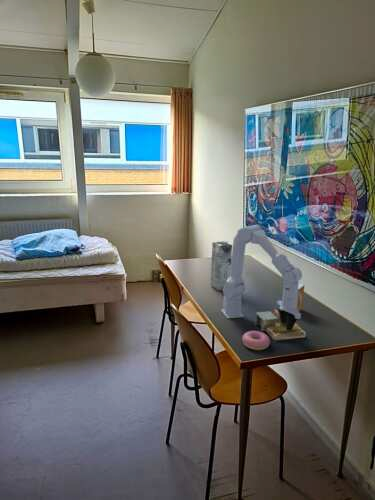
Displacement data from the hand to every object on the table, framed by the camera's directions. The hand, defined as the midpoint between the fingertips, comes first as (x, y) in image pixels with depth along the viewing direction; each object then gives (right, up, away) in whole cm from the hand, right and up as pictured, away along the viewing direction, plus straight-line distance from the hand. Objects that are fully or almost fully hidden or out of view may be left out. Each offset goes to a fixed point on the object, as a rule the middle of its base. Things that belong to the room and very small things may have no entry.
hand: (286, 327), depth 152 cm
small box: (+10, +3, +25) cm, 27 cm away
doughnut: (-14, -5, -8) cm, 17 cm away
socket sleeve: (-7, -1, +8) cm, 10 cm away
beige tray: (0, -3, +1) cm, 3 cm away
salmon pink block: (-6, -1, +8) cm, 10 cm away
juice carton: (-23, +11, +53) cm, 59 cm away
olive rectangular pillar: (0, -2, +1) cm, 3 cm away
